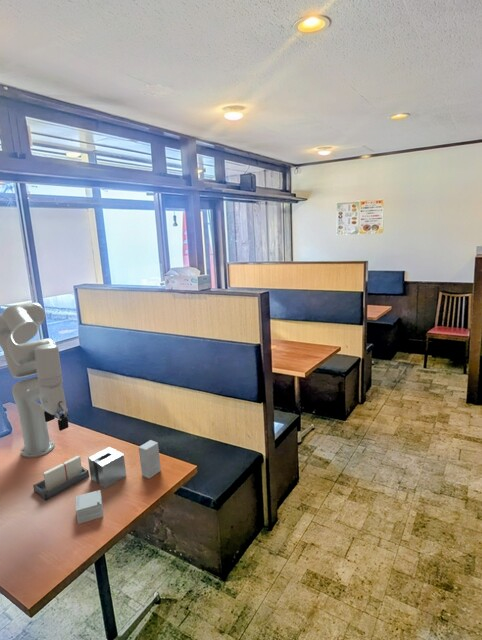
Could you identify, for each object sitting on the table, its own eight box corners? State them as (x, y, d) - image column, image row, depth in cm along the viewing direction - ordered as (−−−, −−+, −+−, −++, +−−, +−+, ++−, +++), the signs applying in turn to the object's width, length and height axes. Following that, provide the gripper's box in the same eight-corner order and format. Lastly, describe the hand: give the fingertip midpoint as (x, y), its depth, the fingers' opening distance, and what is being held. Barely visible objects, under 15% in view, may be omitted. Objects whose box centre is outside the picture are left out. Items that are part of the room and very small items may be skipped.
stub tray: (34, 491, 139) (33, 485, 139) (77, 468, 152) (76, 463, 151) (45, 500, 134) (44, 494, 134) (89, 476, 147) (88, 470, 146)
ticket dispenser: (91, 479, 145) (88, 457, 143) (112, 467, 152) (109, 446, 150) (105, 488, 139) (102, 466, 137) (126, 475, 146) (123, 454, 144)
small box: (77, 509, 130) (75, 495, 129) (102, 502, 133) (100, 489, 131) (77, 524, 123) (75, 510, 122) (103, 517, 126) (102, 503, 124)
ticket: (46, 490, 139) (43, 472, 137) (80, 471, 149) (77, 455, 147) (48, 491, 138) (45, 474, 136) (82, 473, 148) (80, 456, 146)
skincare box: (153, 467, 151) (150, 439, 148) (161, 471, 148) (158, 442, 146) (141, 475, 146) (138, 446, 143) (149, 479, 144) (146, 450, 141)
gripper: (27, 377, 137) (34, 421, 141) (52, 390, 127) (58, 437, 131) (49, 370, 143) (55, 413, 147) (74, 382, 132) (79, 428, 137)
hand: (56, 424), depth 139 cm, fingers open, 9 cm apart
